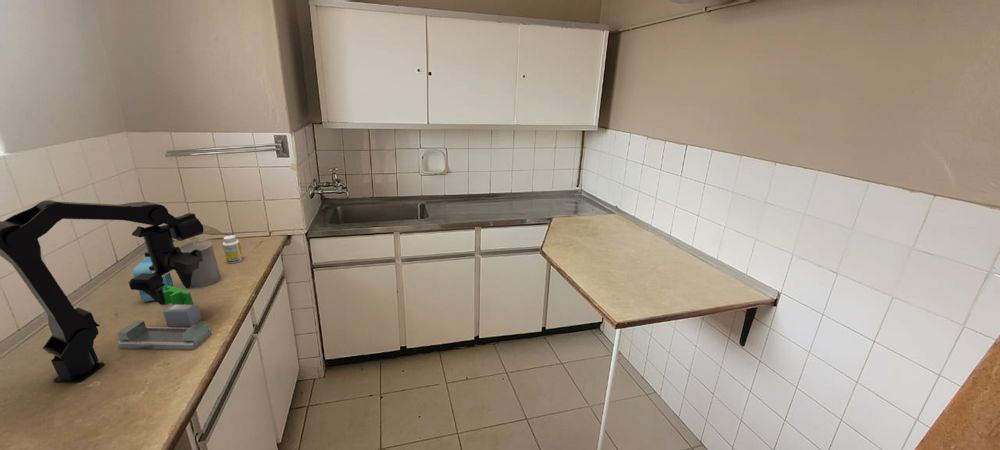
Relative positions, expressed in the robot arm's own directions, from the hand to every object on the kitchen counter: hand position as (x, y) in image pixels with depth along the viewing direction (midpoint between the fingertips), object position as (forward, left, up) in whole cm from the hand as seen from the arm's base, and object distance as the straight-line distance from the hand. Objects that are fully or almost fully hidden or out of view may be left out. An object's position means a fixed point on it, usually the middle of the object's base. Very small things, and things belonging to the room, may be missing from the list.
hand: (176, 296), depth 115 cm
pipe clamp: (+11, +11, -9) cm, 18 cm away
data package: (+16, +21, -9) cm, 28 cm away
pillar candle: (+25, +12, -9) cm, 29 cm away
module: (0, 0, -9) cm, 9 cm away
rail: (-9, -2, -9) cm, 13 cm away
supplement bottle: (+42, +12, -9) cm, 45 cm away
